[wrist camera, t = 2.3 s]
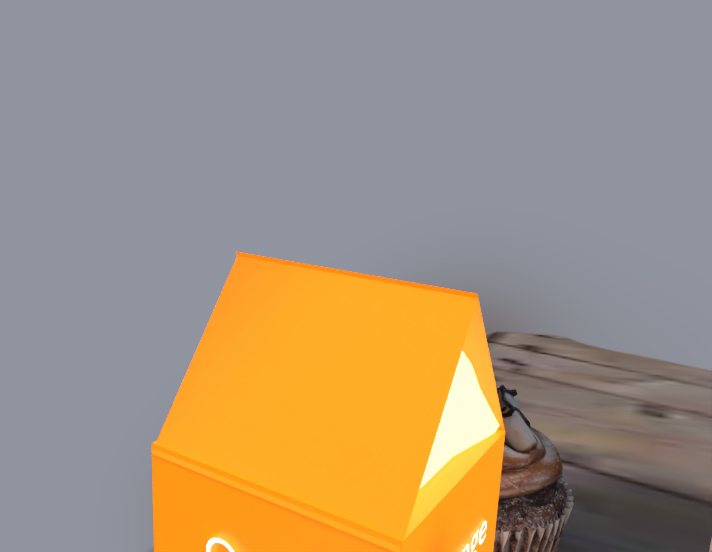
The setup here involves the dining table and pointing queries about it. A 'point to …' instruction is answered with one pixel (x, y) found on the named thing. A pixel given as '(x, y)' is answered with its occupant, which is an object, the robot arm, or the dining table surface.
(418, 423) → the orange juice
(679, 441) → the dining table surface
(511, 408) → the cupcake
